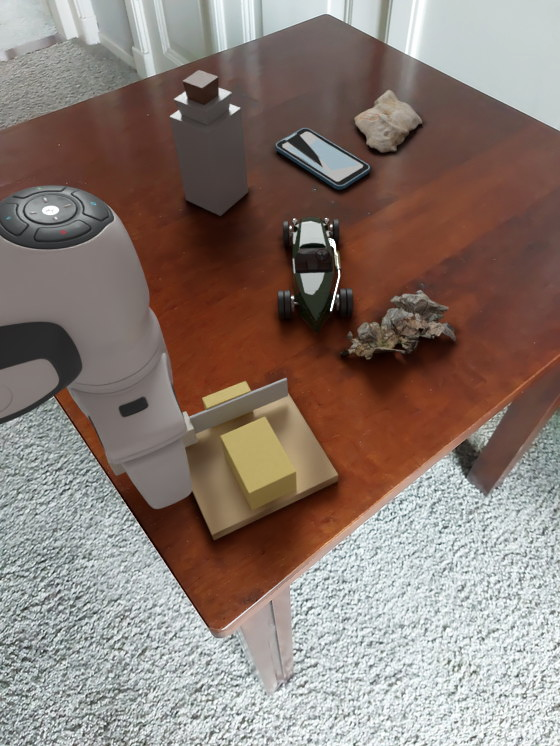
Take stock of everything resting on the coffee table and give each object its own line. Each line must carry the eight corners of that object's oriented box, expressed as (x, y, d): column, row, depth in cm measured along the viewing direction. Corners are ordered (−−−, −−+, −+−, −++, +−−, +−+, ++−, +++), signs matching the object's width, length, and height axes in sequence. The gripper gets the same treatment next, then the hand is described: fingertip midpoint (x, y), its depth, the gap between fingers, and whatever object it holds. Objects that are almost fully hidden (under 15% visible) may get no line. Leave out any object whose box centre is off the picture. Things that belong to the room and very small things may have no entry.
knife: (115, 476, 61) (107, 461, 58) (109, 457, 62) (101, 442, 60) (292, 403, 65) (291, 386, 62) (283, 387, 66) (281, 370, 64)
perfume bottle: (214, 176, 93) (197, 60, 78) (248, 191, 90) (237, 74, 76) (185, 199, 90) (162, 83, 75) (220, 216, 87) (203, 98, 73)
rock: (323, 332, 74) (323, 311, 71) (426, 292, 77) (431, 270, 74) (357, 381, 69) (359, 361, 66) (465, 336, 73) (472, 315, 69)
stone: (385, 101, 104) (387, 84, 102) (436, 123, 99) (439, 107, 97) (335, 133, 99) (336, 117, 96) (386, 159, 94) (388, 143, 92)
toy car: (342, 229, 85) (344, 201, 81) (354, 338, 73) (357, 311, 69) (277, 231, 85) (276, 203, 81) (278, 340, 73) (277, 314, 69)
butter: (251, 510, 59) (248, 493, 55) (224, 454, 62) (219, 435, 59) (297, 489, 60) (296, 471, 57) (267, 435, 64) (265, 415, 60)
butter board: (213, 540, 59) (211, 535, 57) (168, 438, 66) (166, 431, 64) (337, 481, 62) (338, 474, 61) (282, 389, 69) (282, 382, 68)
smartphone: (339, 188, 89) (272, 144, 95) (339, 193, 90) (272, 150, 96) (373, 166, 92) (305, 126, 98) (372, 172, 92) (305, 131, 99)
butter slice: (211, 428, 64) (206, 408, 61) (206, 417, 65) (201, 397, 62) (253, 411, 65) (251, 390, 62) (248, 401, 66) (245, 380, 63)
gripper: (49, 295, 55) (92, 381, 66) (114, 475, 44) (152, 541, 55) (115, 272, 56) (146, 360, 67) (193, 440, 45) (215, 512, 56)
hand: (150, 443), depth 61 cm, fingers closed on knife, 2 cm apart
